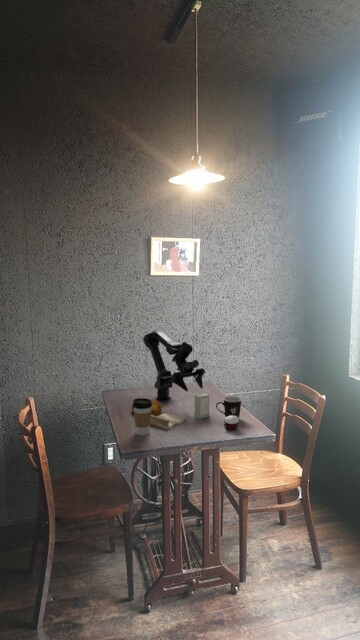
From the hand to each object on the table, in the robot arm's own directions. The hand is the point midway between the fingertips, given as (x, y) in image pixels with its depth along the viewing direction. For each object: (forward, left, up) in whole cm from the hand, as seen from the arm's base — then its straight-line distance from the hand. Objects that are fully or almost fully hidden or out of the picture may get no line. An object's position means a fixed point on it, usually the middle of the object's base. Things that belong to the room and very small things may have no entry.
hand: (194, 389), depth 210 cm
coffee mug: (-4, +18, -13) cm, 22 cm away
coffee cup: (+35, -2, -13) cm, 37 cm away
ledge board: (+18, -3, -12) cm, 22 cm away
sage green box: (+2, +6, -12) cm, 14 cm away
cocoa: (+6, +26, -13) cm, 29 cm away
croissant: (+14, -20, -13) cm, 27 cm away
